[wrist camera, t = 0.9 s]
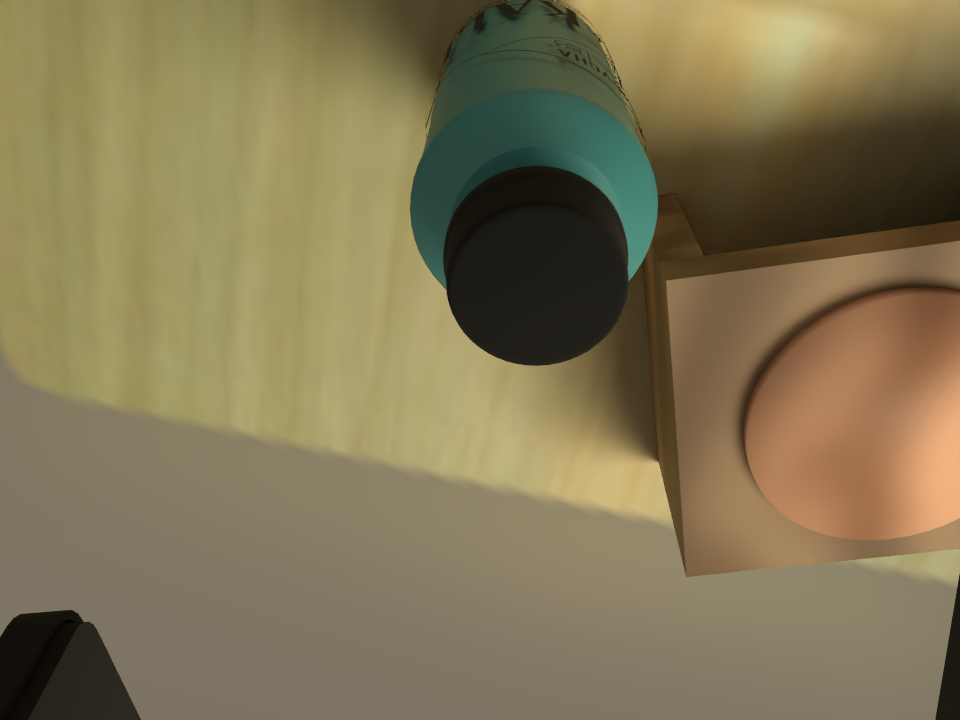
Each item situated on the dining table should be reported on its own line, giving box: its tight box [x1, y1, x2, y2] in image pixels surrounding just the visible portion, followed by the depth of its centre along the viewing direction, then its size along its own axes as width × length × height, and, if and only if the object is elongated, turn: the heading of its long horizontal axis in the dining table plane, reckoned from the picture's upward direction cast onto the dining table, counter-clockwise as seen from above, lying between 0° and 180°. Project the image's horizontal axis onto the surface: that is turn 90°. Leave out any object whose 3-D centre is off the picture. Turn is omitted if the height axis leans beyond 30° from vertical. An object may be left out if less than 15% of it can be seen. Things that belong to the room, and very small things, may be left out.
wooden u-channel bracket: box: [643, 194, 960, 577], centre depth 38 cm, size 16×14×9 cm
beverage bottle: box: [410, 0, 658, 366], centre depth 28 cm, size 6×7×20 cm
